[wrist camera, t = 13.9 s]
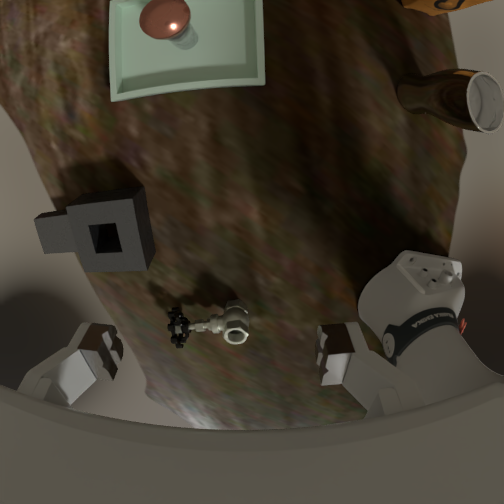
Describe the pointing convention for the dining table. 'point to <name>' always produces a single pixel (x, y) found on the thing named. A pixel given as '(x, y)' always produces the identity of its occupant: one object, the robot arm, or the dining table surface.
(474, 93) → the beer glass
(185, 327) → the valve
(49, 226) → the block
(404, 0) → the coffee package
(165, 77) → the tray
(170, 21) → the hitch pin
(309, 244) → the dining table surface
